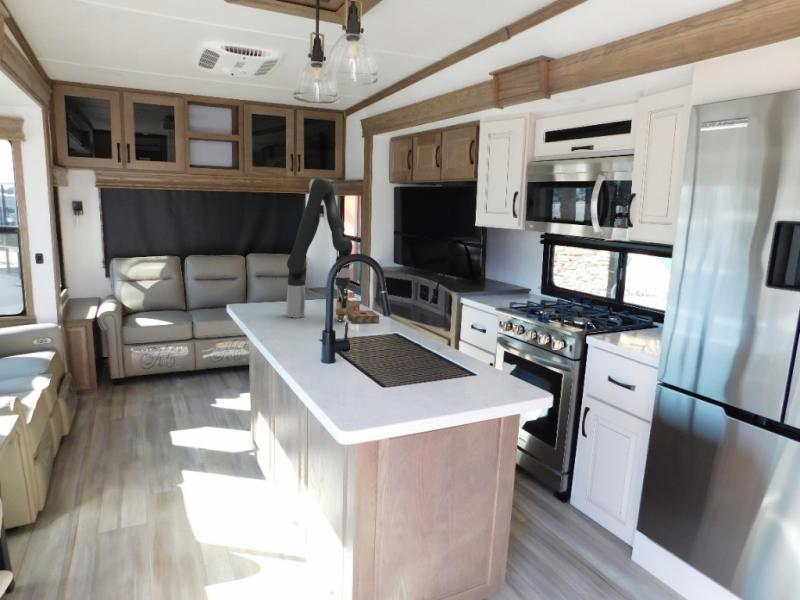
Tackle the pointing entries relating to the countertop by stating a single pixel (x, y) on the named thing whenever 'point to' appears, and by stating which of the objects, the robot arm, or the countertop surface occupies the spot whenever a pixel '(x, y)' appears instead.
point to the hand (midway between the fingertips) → (342, 306)
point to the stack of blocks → (351, 302)
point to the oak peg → (340, 310)
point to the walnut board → (363, 317)
